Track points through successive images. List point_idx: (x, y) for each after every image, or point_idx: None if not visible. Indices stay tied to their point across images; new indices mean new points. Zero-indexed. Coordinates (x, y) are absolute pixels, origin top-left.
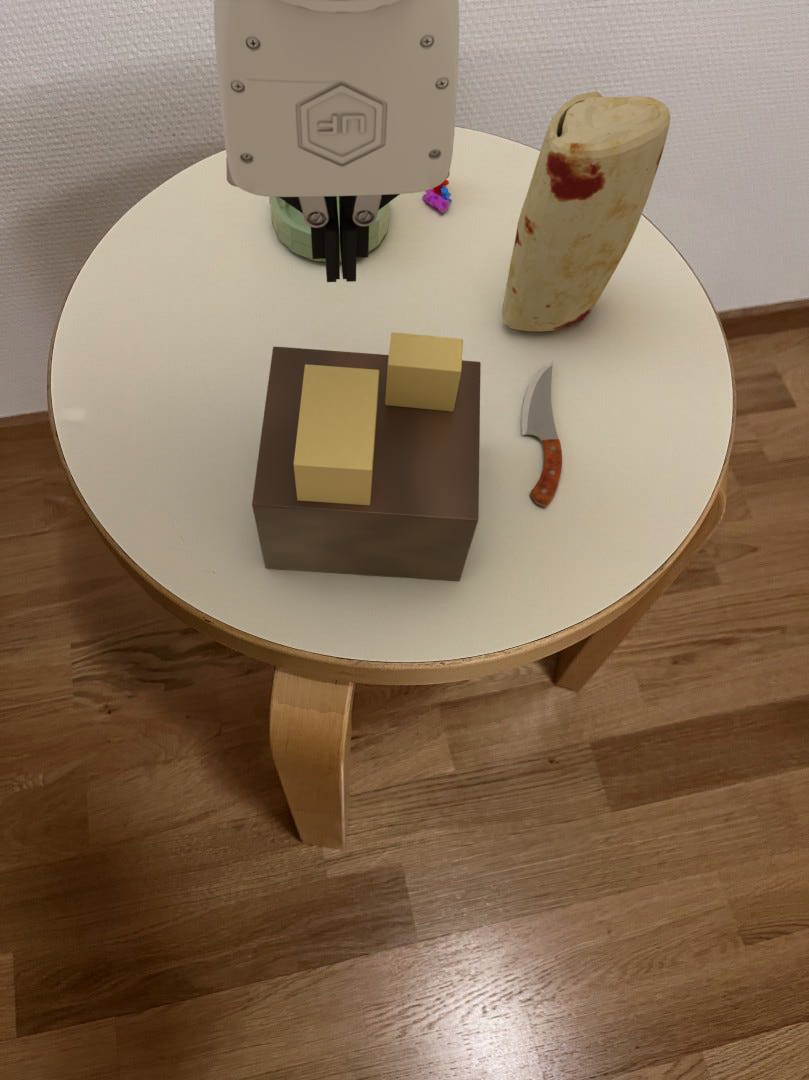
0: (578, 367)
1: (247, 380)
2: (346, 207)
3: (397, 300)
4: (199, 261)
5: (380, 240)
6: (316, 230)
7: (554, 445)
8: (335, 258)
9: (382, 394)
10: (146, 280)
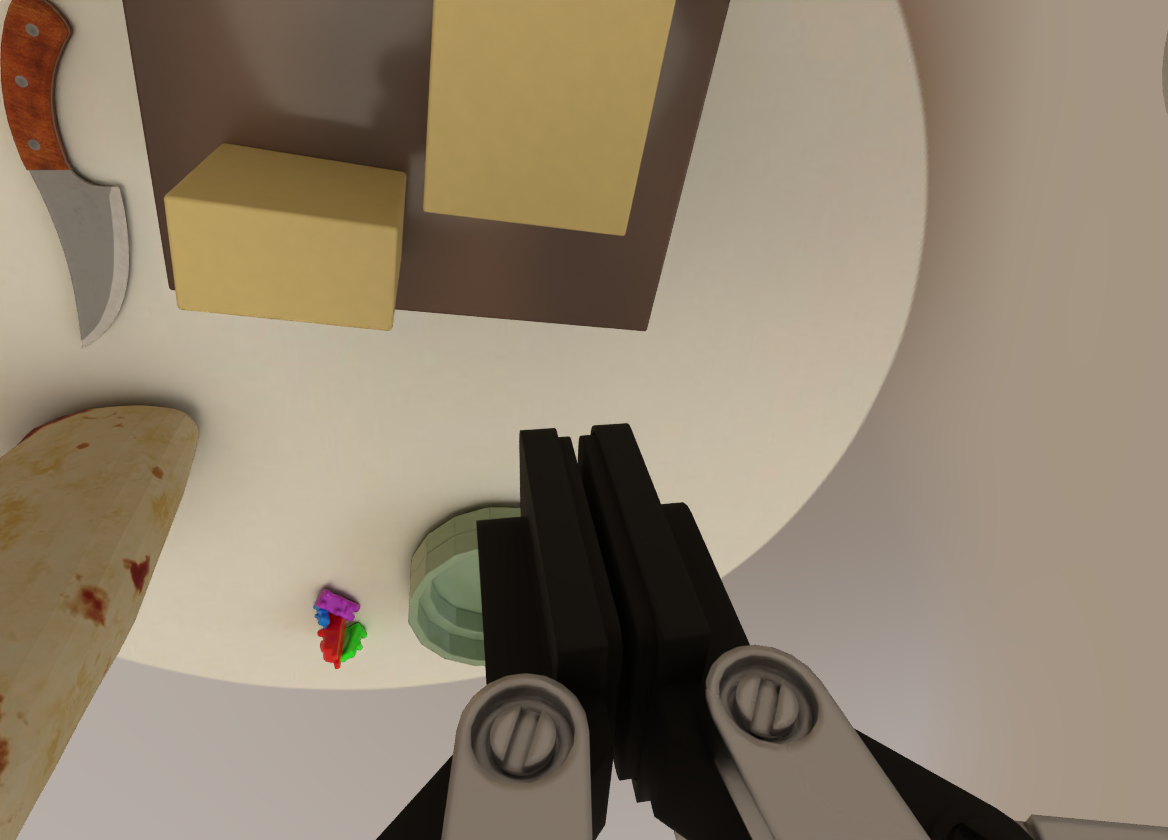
0: (27, 337)
1: None
2: (609, 758)
3: (393, 453)
4: (683, 498)
5: (422, 543)
6: (716, 621)
7: (33, 153)
8: (624, 508)
9: (413, 204)
10: (757, 468)
